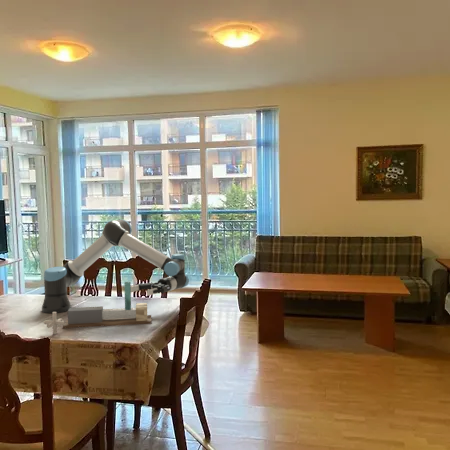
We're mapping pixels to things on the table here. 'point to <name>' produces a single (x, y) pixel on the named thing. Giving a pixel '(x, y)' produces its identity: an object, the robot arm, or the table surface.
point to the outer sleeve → (85, 315)
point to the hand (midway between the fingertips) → (138, 291)
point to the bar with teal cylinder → (121, 312)
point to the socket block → (141, 311)
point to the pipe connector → (54, 322)
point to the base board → (110, 322)
